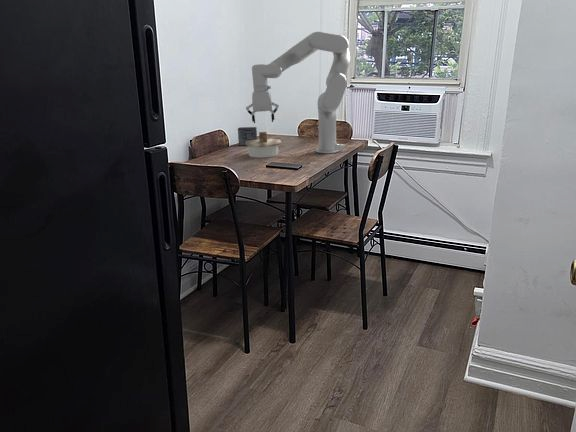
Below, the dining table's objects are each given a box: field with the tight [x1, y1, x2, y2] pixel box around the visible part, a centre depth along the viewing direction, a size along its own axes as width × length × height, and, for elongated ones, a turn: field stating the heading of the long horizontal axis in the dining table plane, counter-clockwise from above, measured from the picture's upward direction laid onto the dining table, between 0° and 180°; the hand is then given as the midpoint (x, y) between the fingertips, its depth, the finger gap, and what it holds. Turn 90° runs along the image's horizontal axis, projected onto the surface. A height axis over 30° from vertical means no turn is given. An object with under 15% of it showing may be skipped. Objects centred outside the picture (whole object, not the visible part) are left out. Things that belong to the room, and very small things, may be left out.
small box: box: [237, 126, 258, 147], centre depth 306 cm, size 11×6×10 cm, turn 84°
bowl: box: [247, 145, 279, 159], centre depth 276 cm, size 16×16×6 cm
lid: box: [246, 131, 282, 147], centre depth 275 cm, size 19×19×6 cm
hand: (263, 122), depth 272 cm, fingers open, 9 cm apart
